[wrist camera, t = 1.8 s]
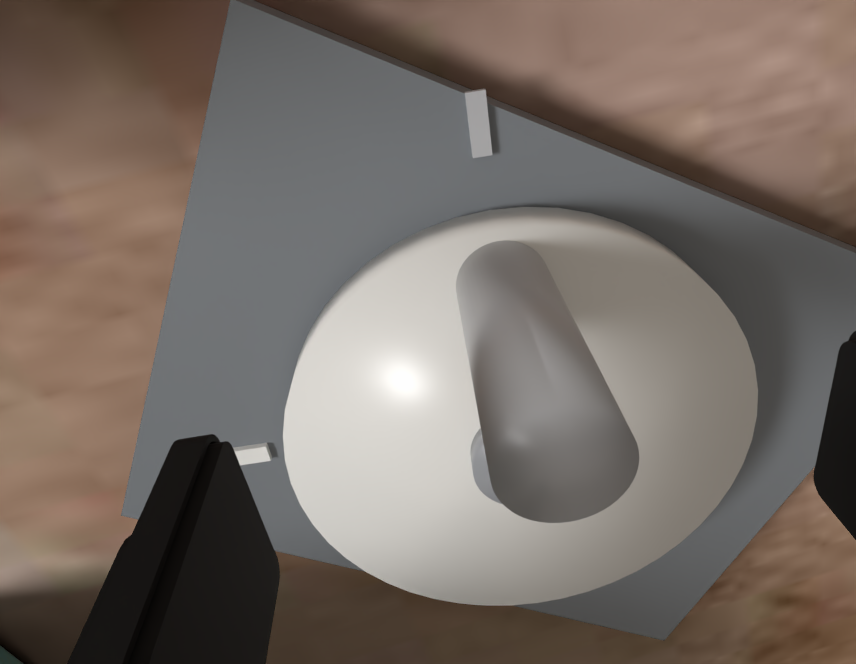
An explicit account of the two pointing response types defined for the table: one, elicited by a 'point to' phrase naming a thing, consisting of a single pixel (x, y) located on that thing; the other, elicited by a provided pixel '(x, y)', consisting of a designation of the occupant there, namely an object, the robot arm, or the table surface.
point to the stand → (422, 208)
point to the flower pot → (7, 657)
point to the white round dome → (518, 407)
